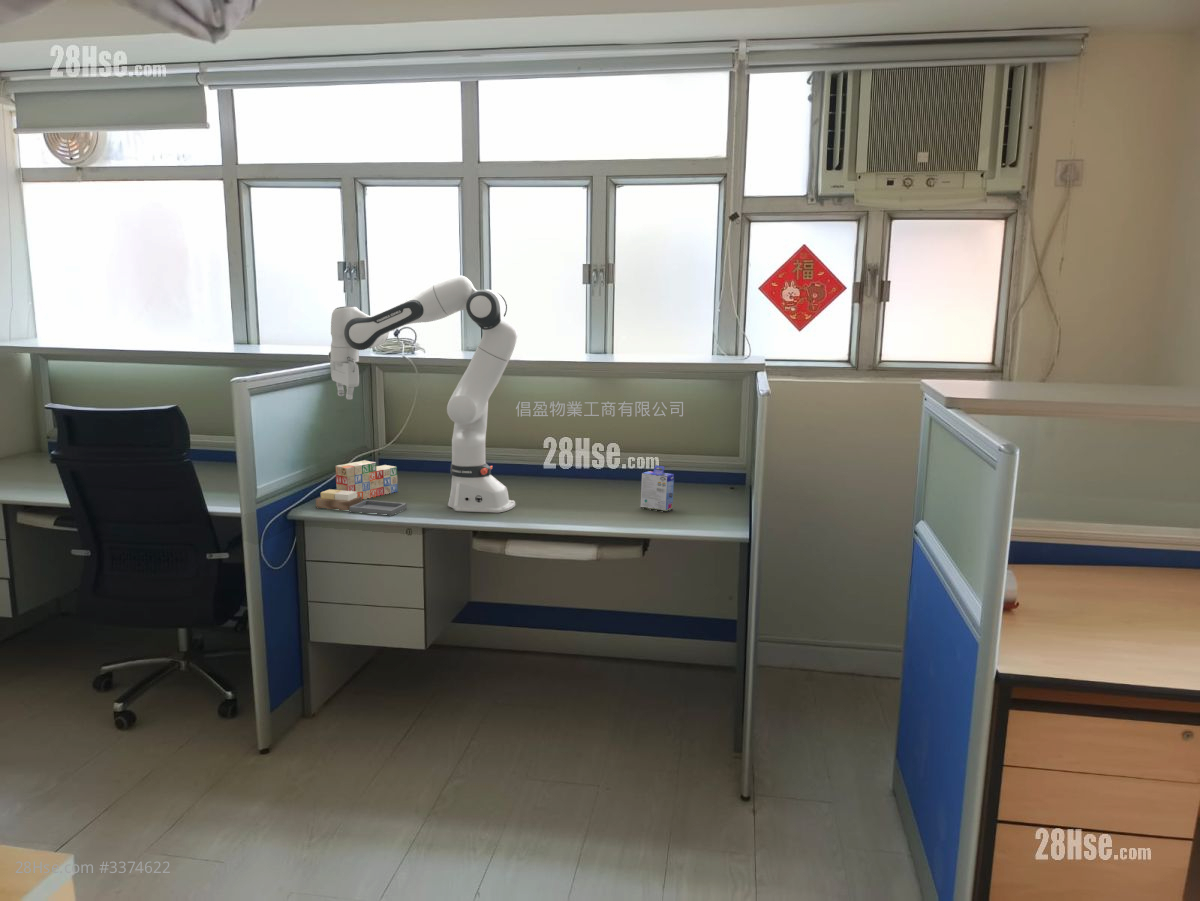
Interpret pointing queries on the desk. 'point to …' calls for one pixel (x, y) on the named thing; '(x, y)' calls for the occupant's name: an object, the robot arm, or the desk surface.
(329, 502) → the walnut ledge
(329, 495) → the ochre tile
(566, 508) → the desk surface
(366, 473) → the stack of blocks
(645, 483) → the ink cartridge box
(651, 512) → the desk surface
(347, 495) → the cream tile
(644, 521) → the desk surface
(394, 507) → the tray
